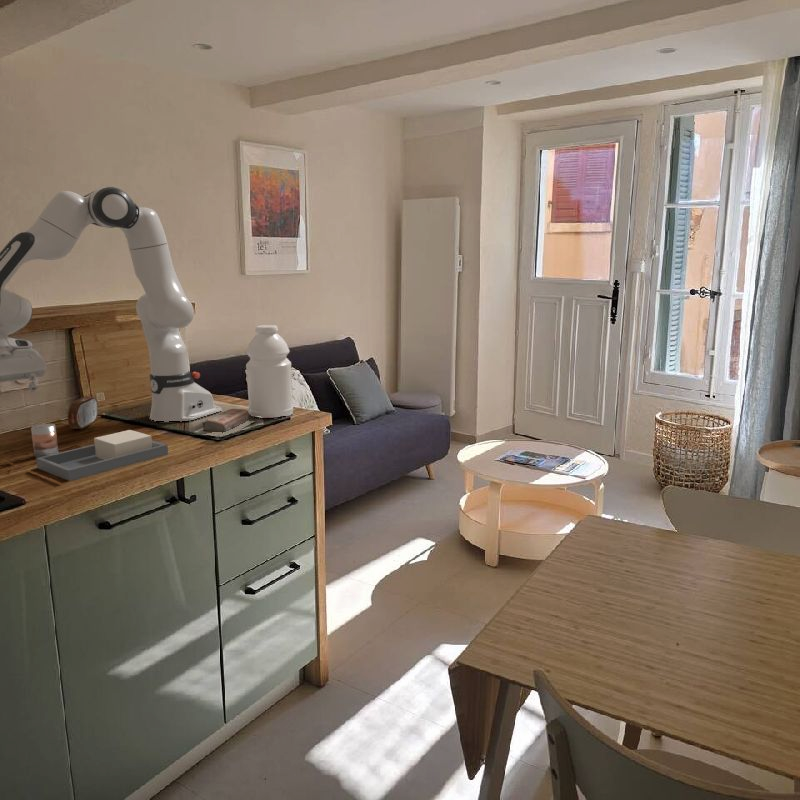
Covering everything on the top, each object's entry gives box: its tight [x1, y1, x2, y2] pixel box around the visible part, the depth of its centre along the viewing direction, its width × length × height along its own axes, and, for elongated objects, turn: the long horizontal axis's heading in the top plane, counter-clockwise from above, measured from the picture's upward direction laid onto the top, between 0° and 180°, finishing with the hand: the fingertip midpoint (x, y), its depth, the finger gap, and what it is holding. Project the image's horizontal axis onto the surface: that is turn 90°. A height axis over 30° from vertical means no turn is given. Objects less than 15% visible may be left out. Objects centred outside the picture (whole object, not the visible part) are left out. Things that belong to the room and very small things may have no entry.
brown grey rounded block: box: [67, 395, 99, 430], centre depth 217 cm, size 15×3×8 cm, turn 178°
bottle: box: [245, 324, 294, 417], centre depth 226 cm, size 14×14×28 cm
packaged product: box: [194, 408, 250, 434], centre depth 212 cm, size 18×5×10 cm
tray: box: [35, 440, 169, 482], centre depth 181 cm, size 26×16×3 cm, turn 141°
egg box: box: [93, 429, 153, 460], centre depth 185 cm, size 10×10×5 cm
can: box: [30, 423, 60, 458], centre depth 187 cm, size 6×6×8 cm
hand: (16, 391), depth 192 cm, fingers open, 8 cm apart
